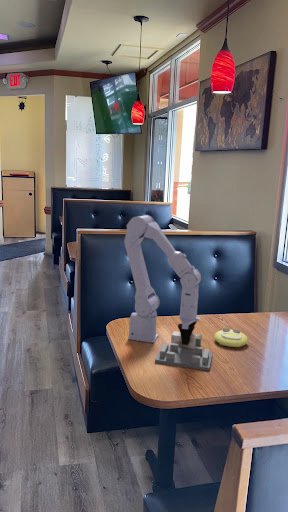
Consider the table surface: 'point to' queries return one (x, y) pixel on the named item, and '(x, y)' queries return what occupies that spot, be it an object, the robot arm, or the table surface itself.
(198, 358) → the cradle
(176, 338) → the light grey tapered block
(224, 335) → the emoji
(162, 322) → the table surface
